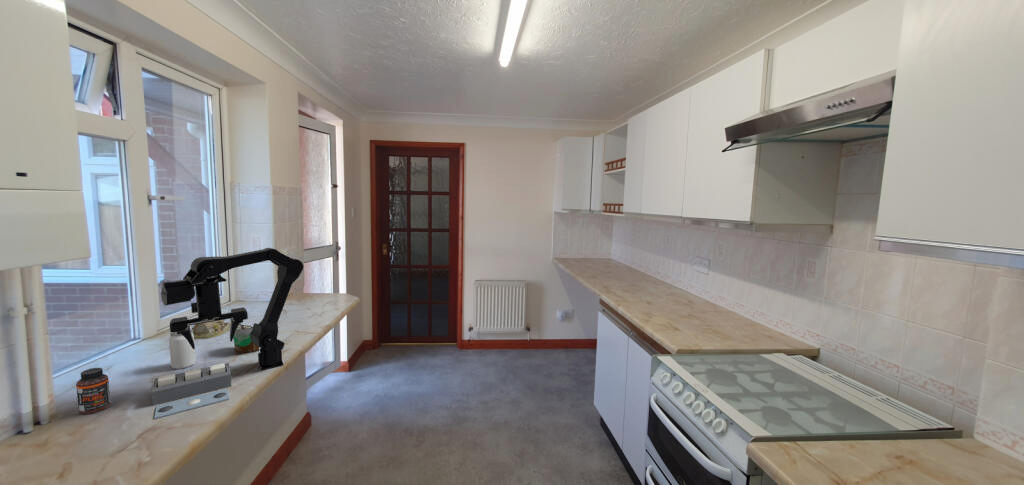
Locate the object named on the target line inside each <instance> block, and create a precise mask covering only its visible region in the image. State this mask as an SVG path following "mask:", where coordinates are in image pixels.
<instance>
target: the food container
mask: <svg viewBox="0 0 1024 485" xmlns="http://www.w3.org/2000/svg"><path fill="white" fill-rule="evenodd" d="M252 329H253V326H251V325H244V324H242V323H240V324H239V325H238V327H237V329H236V331H235V334H234V337H233V344H234V351H235V353H236V354H238V355H245V354H246V355H248V354H252V353H253V354H254V353H257V352H260V347H258V346H257V345H256V344H254V343H253V342H252V341H251V335H250V332H251V331H252Z"/></svg>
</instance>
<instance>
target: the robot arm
mask: <svg viewBox="0 0 1024 485" xmlns="http://www.w3.org/2000/svg"><path fill="white" fill-rule="evenodd" d="M267 261H269V262H271V263H272V264H274V265H276V266H277V271H276V273H277V282H276V284H275V287H274V290H273V292H272V295H271V297H270V298H269V299H270V300H269V303H268V305H267V308H266V310H265V313H264V315H263V317H262V320H260V322H259V323H256V322H254V323H253V326H252V327H253V329H252V331H251V332H250V335H251V341H252V342H253V343H254V344H256V345H257V346H258V347H259V352H258V353H257V361H258V362H257V363H258V366H259V367H260V368H261V370H263V371H264V370H267V369H271V368H272V369H273V368H276V367H280V366H283V365H284V362H283V354H282V352H283V349H284V347H285V344H286V343H285V342H283V341H282V340H280V339H278V334H279V320H280V317H281V315H282V312H283V309H284V307H285V304H286V300H287V298H288V296H289V293H290V291H291V288H292V285H293V284H294V282H296V281H297V280H298V278H300V276H301V274H302V272H303V271H304V268H305V266H304V264H303V261H301V260H300V259H297V258H293V257H290V256H287V255H286V254H284V253H282V252H280V250H279V251H278V250H277V249H276V248H272V247H266V248H264V249H258V250H253V251H247V252H242V253H237V254H233V255H226V256H200V257H197V258H194V260H193V261H192V262H191V264H190V269H189V270H188V272H187V273H186V274H185V275H184V276H183V278H182V280H181V279H179V280H173V281H163V282H162V286H161V292H160V296H161V301H162V304H163V305H164V306H165V307H166V306H171V305H176V304H181V303H187V302H191V300H194V298H195V300H196V301H195V302H191V303H190V306H191V314H196V313H197V317H195V318H189V319H188V316H180V317H174V318H171V320H170V321H169V330H170V333H173V332H177V334H182V335H183V336H184V337H185V338H186V339H187V341H188V342H189V344H190V345H191V347H192V348H193V349H195V350H196V348H195V346H196V345H194V344H195V339H194V340H193V337H192V334H191V331H192V329H191V327H190V326H194V325H195V324H201V323H207V322H213V321H219V320H225V321H226V320H228V319H229V320H230V328H229V341H230V342H233V341H234V339H233V337H234V334H235V331H236V329H237V327H238V325H239V324H240V323H241V324H242V323H244V321H245V320H248V319H249V315H248V311H247V309H246V308H245V307H239V308H238V307H236V308H231V309H230V312H226V313H222V305H221V303H222V302H221V294H220V293H221V292H220V283H223V282H227V278H225V277H223V276H222V275H221V274H223V273H226V272H228V271H230V270H232V269H235V268H239V267H246V266H248V265H255V264H258V263H263V262H267ZM218 317H219V318H218ZM213 318H214V319H213ZM206 319H208V320H206Z"/></svg>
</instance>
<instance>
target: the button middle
mask: <svg viewBox="0 0 1024 485" xmlns="http://www.w3.org/2000/svg"><path fill="white" fill-rule="evenodd" d="M201 369H202V368H200V367H199V368H195V369H189V370H185V371H184V372H185V381H187V380H192V379H196V378H201Z"/></svg>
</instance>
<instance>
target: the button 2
mask: <svg viewBox="0 0 1024 485" xmlns="http://www.w3.org/2000/svg"><path fill="white" fill-rule="evenodd" d="M225 364H226V363H219V364H214V365H210V366H209V367H210V370H211V375H214V374H219V373H223V372H225Z"/></svg>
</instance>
